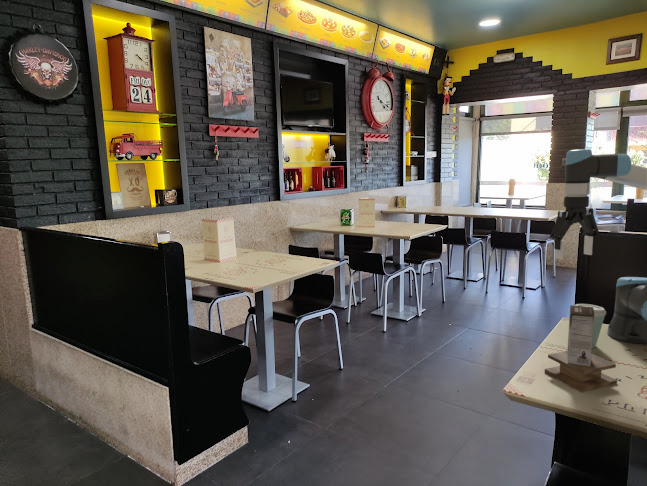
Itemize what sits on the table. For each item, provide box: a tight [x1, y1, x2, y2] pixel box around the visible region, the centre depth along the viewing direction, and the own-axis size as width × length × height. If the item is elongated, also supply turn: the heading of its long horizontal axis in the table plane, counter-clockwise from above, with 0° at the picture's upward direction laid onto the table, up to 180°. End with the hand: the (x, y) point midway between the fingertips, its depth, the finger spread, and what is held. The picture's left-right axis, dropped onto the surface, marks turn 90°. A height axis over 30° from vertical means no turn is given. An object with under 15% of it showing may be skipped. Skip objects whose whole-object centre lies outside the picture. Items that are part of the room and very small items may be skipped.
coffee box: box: [567, 304, 594, 366], centre depth 141 cm, size 9×6×16 cm
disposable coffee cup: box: [574, 303, 607, 349], centre depth 167 cm, size 11×11×15 cm
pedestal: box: [544, 350, 618, 393], centre depth 143 cm, size 14×14×6 cm
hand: (573, 256), depth 160 cm, fingers open, 13 cm apart
